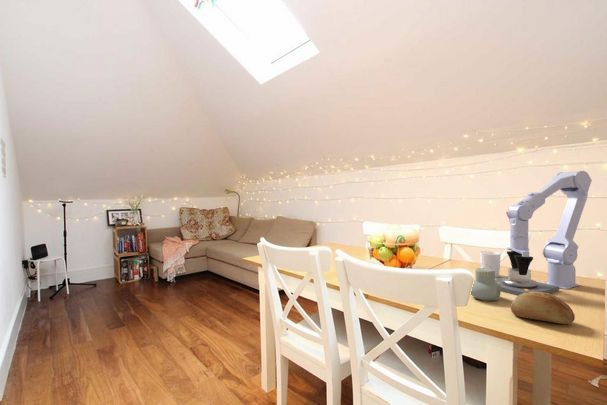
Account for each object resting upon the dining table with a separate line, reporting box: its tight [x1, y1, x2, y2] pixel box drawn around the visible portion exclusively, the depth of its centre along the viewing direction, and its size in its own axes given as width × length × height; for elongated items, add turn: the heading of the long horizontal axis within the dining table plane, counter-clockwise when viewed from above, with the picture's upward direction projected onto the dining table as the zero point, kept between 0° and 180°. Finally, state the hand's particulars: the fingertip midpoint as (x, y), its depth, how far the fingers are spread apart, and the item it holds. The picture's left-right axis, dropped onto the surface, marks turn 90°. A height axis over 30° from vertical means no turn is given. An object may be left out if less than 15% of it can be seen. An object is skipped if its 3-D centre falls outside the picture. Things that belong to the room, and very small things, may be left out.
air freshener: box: [470, 267, 502, 302], centre depth 115 cm, size 11×8×10 cm
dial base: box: [495, 275, 560, 296], centre depth 125 cm, size 18×18×2 cm
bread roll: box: [510, 291, 576, 325], centre depth 95 cm, size 10×15×8 cm, turn 53°
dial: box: [502, 267, 538, 288], centre depth 125 cm, size 11×11×6 cm
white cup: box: [479, 250, 502, 278], centre depth 144 cm, size 8×8×10 cm
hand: (519, 272), depth 125 cm, fingers open, 7 cm apart
